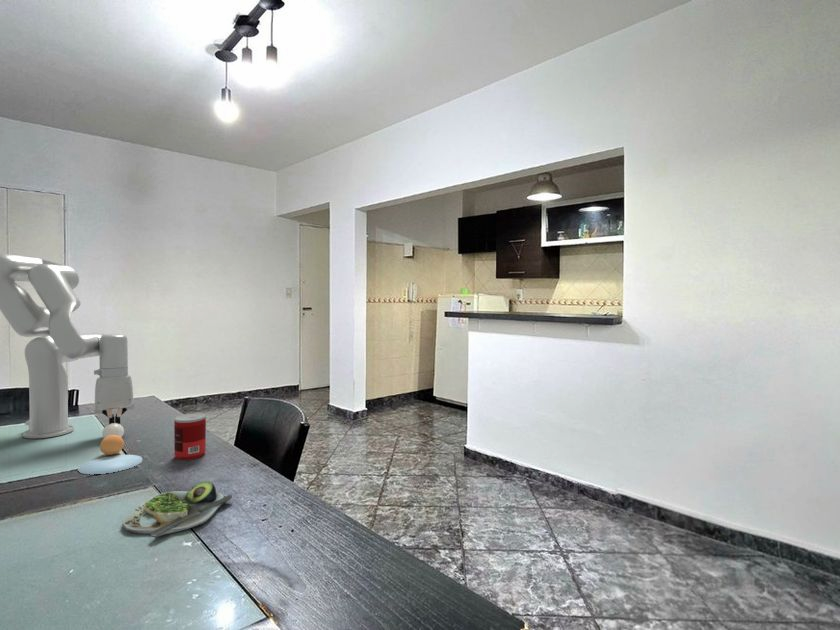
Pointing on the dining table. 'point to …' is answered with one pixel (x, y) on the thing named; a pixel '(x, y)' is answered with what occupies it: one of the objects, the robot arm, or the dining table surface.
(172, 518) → the avocado toast plate
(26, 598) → the dining table surface
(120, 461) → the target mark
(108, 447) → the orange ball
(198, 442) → the canned food
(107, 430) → the white egg
